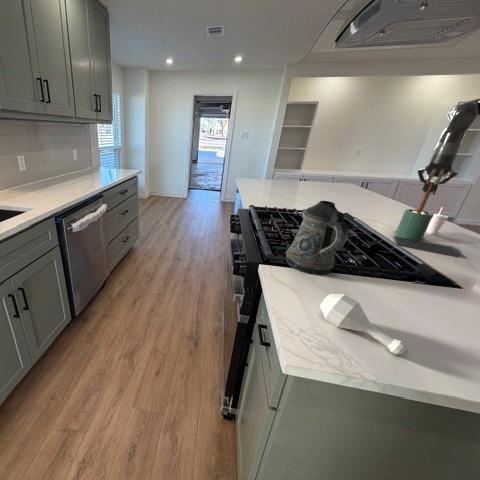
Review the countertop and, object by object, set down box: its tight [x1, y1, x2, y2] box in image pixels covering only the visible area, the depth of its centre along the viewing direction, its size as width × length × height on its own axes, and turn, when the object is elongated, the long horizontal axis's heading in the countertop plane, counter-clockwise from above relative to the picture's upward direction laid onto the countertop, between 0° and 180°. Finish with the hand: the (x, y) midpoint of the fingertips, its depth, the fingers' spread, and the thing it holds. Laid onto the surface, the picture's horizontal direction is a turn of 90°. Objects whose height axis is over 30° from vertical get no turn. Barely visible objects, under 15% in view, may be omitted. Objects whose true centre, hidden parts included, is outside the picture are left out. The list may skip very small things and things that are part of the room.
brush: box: [412, 180, 435, 214], centre depth 121 cm, size 5×5×18 cm
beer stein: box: [285, 200, 349, 276], centre depth 92 cm, size 16×19×25 cm
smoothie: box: [426, 206, 449, 235], centre depth 131 cm, size 6×6×14 cm
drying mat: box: [393, 235, 460, 258], centre depth 117 cm, size 20×12×1 cm, turn 55°
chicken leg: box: [319, 293, 406, 355], centre depth 64 cm, size 8×18×8 cm, turn 37°
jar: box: [394, 208, 435, 241], centre depth 125 cm, size 10×10×13 cm
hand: (427, 191), depth 119 cm, fingers closed on brush
